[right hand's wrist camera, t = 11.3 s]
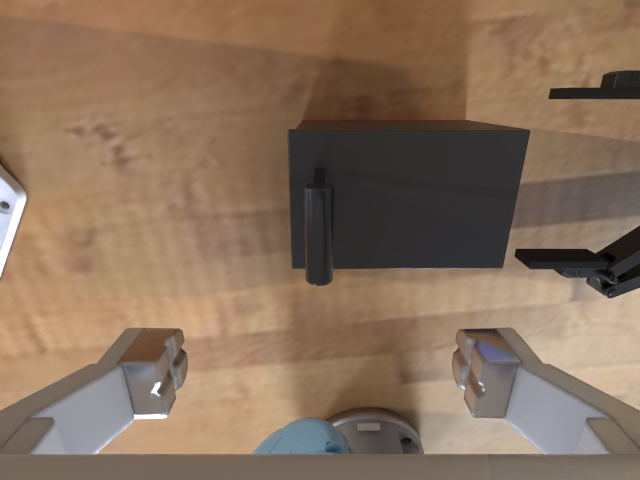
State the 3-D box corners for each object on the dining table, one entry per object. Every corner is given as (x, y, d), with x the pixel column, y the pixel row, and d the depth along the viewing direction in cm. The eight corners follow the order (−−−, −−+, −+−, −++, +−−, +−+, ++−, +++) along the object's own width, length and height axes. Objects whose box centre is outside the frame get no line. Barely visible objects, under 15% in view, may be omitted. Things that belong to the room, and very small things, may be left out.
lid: (292, 263, 28) (283, 321, 21) (288, 129, 24) (275, 142, 17) (497, 263, 28) (558, 321, 21) (523, 128, 24) (608, 141, 17)
